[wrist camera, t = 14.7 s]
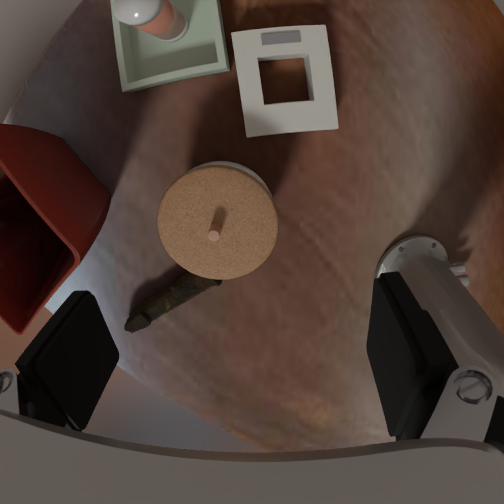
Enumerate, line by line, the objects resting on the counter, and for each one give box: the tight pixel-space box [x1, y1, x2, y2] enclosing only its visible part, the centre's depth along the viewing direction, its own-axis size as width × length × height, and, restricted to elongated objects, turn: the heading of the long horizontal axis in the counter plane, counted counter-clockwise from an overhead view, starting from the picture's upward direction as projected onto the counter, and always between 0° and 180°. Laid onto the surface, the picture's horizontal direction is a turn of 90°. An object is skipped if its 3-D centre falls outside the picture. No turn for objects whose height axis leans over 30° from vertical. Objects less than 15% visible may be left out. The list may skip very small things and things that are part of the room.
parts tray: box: [111, 0, 230, 92], centre depth 29 cm, size 12×14×4 cm
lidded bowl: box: [157, 161, 279, 280], centre depth 36 cm, size 13×13×11 cm
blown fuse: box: [113, 0, 189, 42], centre depth 24 cm, size 4×4×12 cm
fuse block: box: [231, 25, 338, 137], centre depth 31 cm, size 10×12×4 cm
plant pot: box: [0, 124, 111, 335], centre depth 33 cm, size 19×19×17 cm
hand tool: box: [124, 272, 222, 333], centre depth 46 cm, size 19×4×5 cm, turn 122°
